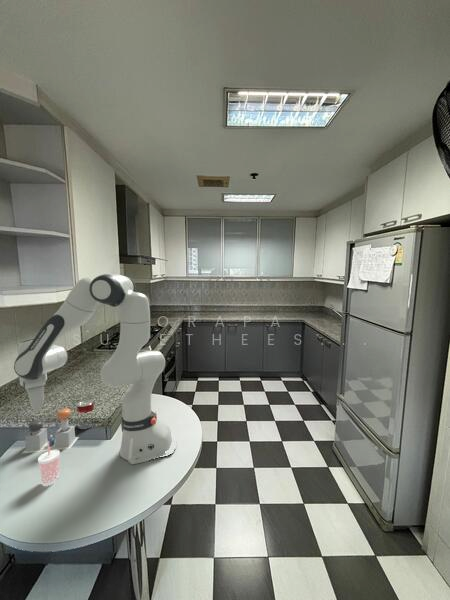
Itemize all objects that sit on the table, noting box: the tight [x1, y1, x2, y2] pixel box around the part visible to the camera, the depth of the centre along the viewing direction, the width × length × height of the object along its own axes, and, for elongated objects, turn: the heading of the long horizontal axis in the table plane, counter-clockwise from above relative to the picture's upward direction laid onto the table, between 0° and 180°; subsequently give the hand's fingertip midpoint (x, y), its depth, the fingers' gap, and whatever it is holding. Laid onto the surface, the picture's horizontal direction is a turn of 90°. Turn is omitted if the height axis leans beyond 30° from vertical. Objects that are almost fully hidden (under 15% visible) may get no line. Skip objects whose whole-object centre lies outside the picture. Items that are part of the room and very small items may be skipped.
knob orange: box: [56, 408, 71, 432], centre depth 103 cm, size 5×5×9 cm
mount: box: [20, 425, 80, 455], centre depth 102 cm, size 18×8×7 cm, turn 98°
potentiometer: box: [47, 434, 55, 447], centre depth 102 cm, size 2×2×4 cm
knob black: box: [28, 419, 44, 435], centre depth 101 cm, size 5×5×9 cm
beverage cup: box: [37, 441, 61, 487], centre depth 84 cm, size 6×6×14 cm
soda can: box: [76, 399, 95, 414], centre depth 116 cm, size 7×7×12 cm
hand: (35, 411), depth 101 cm, fingers closed
